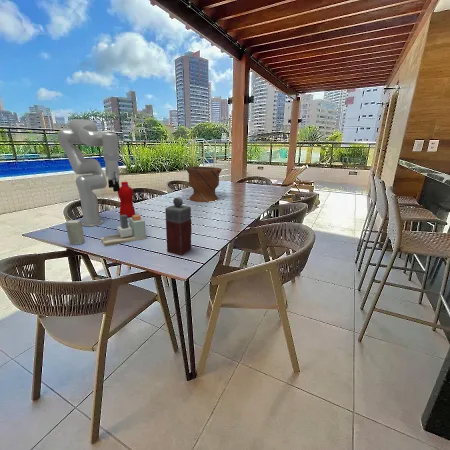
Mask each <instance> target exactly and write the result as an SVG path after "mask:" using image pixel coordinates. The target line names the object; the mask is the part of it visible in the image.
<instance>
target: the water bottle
mask: <svg viewBox="0 0 450 450" xmlns="http://www.w3.org/2000/svg"><path fill="white" fill-rule="evenodd" d="M117 196H118V199H119V202H120V206H119V216H120V215H127V219H129V218H132V215H136V211H135V207H134V204H133V199H134V197H135V196H134V191H133V188H132V186H130V185H129V182H128V181H121V186H120V191H117Z"/></svg>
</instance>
